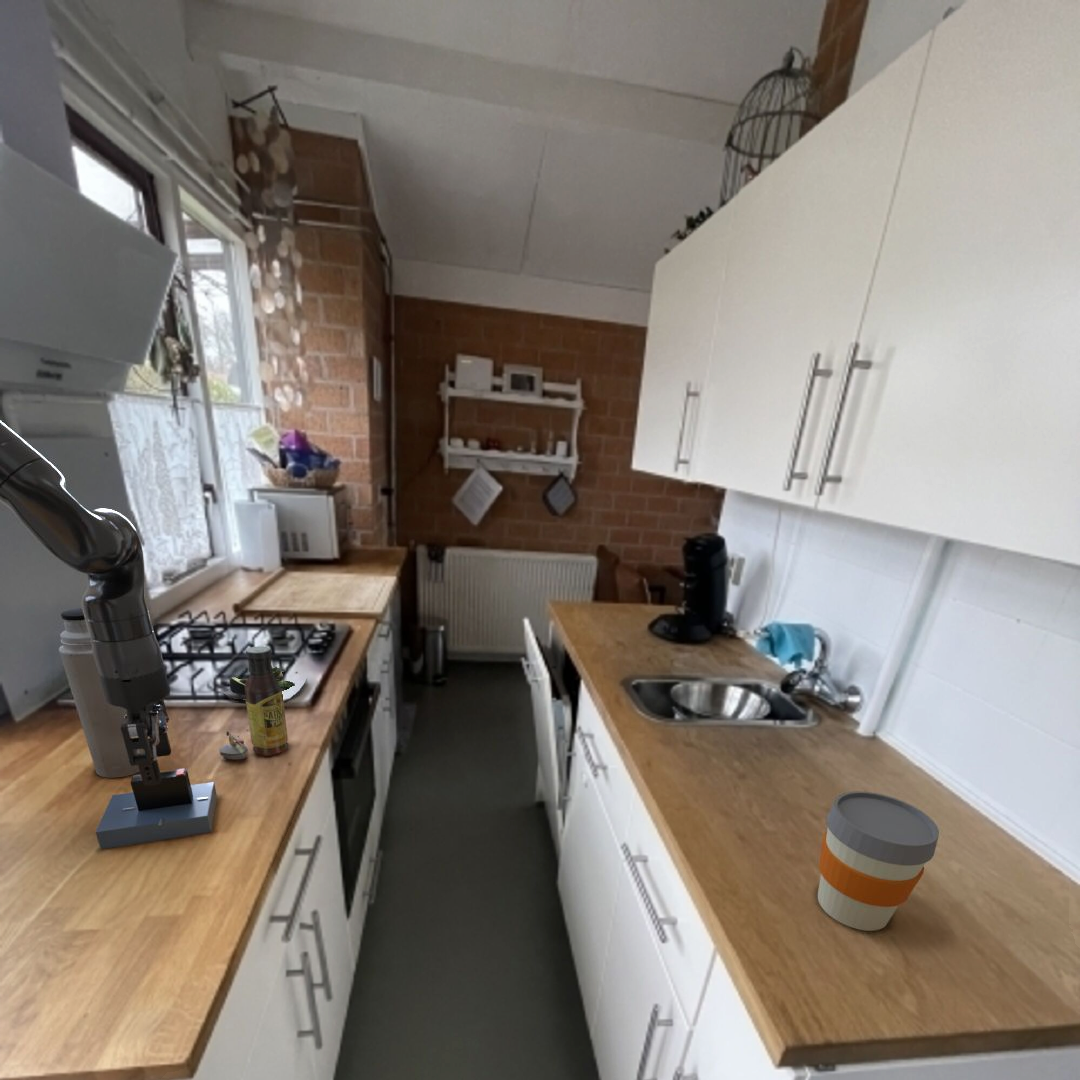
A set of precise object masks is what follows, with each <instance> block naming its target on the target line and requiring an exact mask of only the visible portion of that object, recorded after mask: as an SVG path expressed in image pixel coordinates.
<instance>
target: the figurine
mask: <svg viewBox="0 0 1080 1080" xmlns="http://www.w3.org/2000/svg"><path fill="white" fill-rule="evenodd" d="M226 736H227V737H228V743H226V744H225V745H223V746H222V747H220V748H219V755H220V756H222V758H223V759H224V760H230V761H231V760H243V759H245V758H246V757H247V756H248V755H247V753H248V751H249V748H248V746H246V744H245V741H244V739H242V738H241V735H238V736H237V737H236V735H235V734H231V732H230V731H229V730H227V731H226Z"/></svg>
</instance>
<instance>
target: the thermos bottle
mask: <svg viewBox="0 0 1080 1080" xmlns="http://www.w3.org/2000/svg"><path fill="white" fill-rule="evenodd" d="M60 617H61V619H62V620H63V626H64V629H65V630H63V631H62V632H60V634H59V636H60V643H61V644H62V645H61V646H59V648H58V653H59V655H60V660H61V662H62V665H63V668H64V671H65V675H66V678H67V682H68V685H69V689H70V691H71V693H72V698H73V701H74V704H75V708H76V711H77V714H78V717H79V720H80V724H81V728H82V730H83V731H82V732H83V733H84V737H85V740H86V743H87V744H86V745H87V747H88V750H89V754H90V756H91V759H92V763H93V767H94V769H95V773H96V774H97V775H98V776H99V777H102V778H108V779H114V778H116V779H117V778H124V777H129V776H131V775H136V774H137V773H140V770H139V767H138V765H135V766H131V764H130V763H129V757H128V753H127V749H126V746H125V742H124V738H123V734H122V731H121V725H122V724H125V720H124V716H125V715H127V710H126V709H125V708H122V707H119V706H118V707H117V706H113V705H111V704H109V703H108V702H107V700H106V697H105V694H104V690H103V687H102V684H101V680H100V677H99V673H98V670H97V667H96V663H95V660H94V656H93V651H92V642H91V637H90V634H89V631H88V628H87V624H86V621H85V617H84V614H83V609H82V607H79V608H74V609H73V608H72V609H68V610H65V611H61V613H60ZM140 754H145V751H144V749H140Z"/></svg>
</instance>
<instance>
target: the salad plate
mask: <svg viewBox="0 0 1080 1080" xmlns="http://www.w3.org/2000/svg"><path fill="white" fill-rule="evenodd" d="M272 669H273V673H274V676H275V678H276V679H280V678H282V677H283V674H282V672H283V671H282V669H281V667H280V668H277V667H275V668H273V667H272ZM246 682H247V679H238V678H236V677H235V676H231V677H230V679H229V682H228V683H230V690H231V691H232V692H233V693H236V694H238V695H246V693H245V684H246ZM278 684H279V686H280V688H281V690H282V691H284V690H287V689H289V688H290V687H292V686H295V683H293V682H290V681H284V680H282V681H278ZM231 691H230V692H231ZM225 697H226V698H228V700H230V701H232V702H236V703H242V704H246V700H243V699H233V698H229V697H227V696H225Z"/></svg>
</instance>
